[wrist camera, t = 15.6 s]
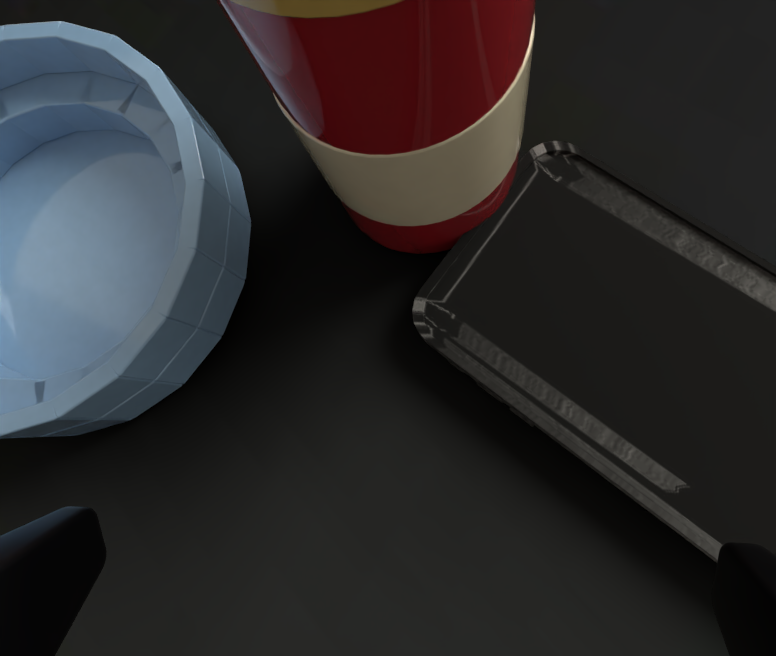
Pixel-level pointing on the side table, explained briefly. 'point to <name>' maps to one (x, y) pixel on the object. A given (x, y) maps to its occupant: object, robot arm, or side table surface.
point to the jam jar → (400, 104)
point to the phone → (622, 341)
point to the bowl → (106, 232)
